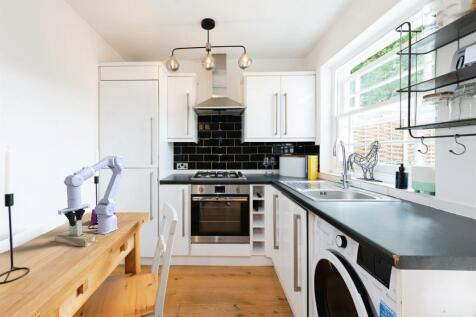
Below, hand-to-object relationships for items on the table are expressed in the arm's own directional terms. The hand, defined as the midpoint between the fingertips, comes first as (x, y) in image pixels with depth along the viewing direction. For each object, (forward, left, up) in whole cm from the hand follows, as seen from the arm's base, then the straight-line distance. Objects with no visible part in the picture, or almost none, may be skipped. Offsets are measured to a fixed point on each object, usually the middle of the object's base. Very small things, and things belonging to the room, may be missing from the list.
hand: (75, 225), depth 118 cm
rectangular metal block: (0, 0, -5) cm, 5 cm away
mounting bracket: (-32, -19, -9) cm, 38 cm away
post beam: (0, 0, -8) cm, 8 cm away
